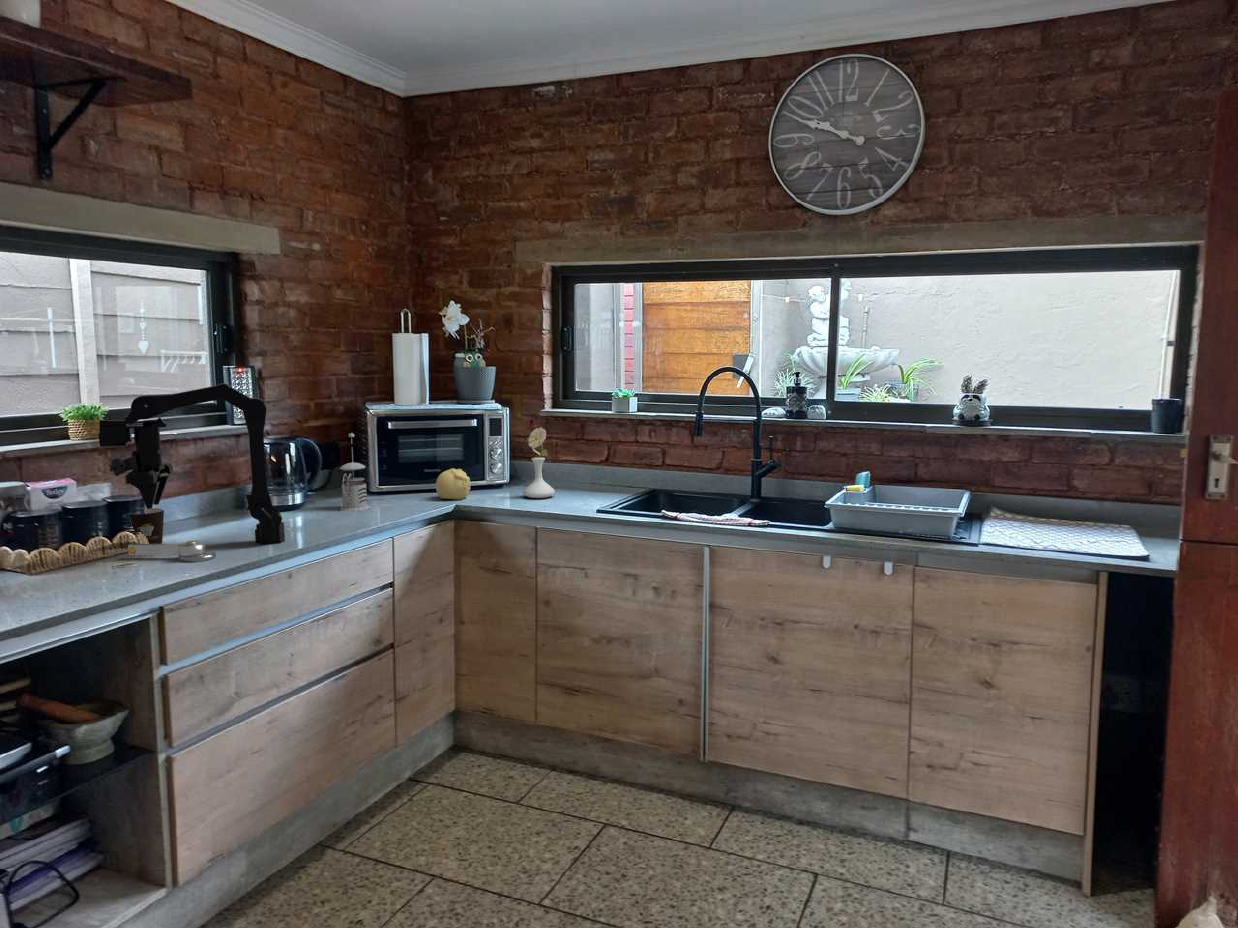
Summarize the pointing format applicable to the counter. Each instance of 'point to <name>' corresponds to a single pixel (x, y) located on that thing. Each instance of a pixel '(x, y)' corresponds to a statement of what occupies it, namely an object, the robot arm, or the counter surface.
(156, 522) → the coffee mug
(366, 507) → the french press
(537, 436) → the flower in vase
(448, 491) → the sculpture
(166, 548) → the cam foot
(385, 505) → the counter surface
